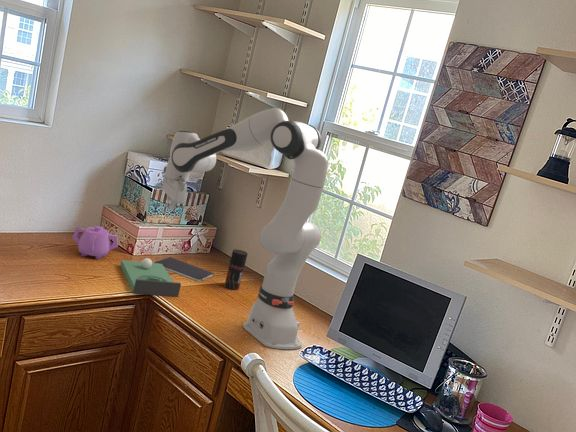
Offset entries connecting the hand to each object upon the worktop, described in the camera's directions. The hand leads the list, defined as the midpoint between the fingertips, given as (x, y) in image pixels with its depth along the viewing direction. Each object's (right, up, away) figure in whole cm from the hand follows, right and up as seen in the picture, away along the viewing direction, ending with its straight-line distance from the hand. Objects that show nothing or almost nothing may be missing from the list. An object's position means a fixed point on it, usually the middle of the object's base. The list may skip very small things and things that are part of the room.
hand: (170, 208), depth 223 cm
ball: (-9, -21, +3) cm, 23 cm away
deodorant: (+22, -31, +15) cm, 41 cm away
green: (-8, -27, -1) cm, 28 cm away
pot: (-33, -18, +11) cm, 39 cm away
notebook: (+1, -25, +21) cm, 33 cm away
